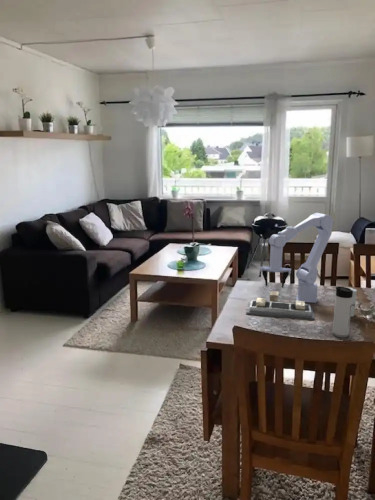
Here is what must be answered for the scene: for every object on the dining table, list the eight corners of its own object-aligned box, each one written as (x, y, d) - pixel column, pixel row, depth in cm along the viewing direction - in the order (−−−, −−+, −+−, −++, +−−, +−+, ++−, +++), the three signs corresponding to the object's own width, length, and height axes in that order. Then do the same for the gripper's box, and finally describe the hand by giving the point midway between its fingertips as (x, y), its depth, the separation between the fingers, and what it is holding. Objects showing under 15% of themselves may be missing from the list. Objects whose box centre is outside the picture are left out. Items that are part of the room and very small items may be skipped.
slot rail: (312, 309, 194) (313, 299, 193) (314, 320, 182) (315, 309, 181) (248, 304, 201) (248, 294, 200) (246, 314, 189) (246, 303, 187)
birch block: (278, 301, 206) (278, 291, 205) (277, 305, 200) (278, 295, 199) (269, 300, 207) (270, 291, 206) (269, 304, 201) (270, 294, 200)
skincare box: (340, 315, 188) (342, 290, 185) (339, 311, 192) (341, 287, 189) (354, 317, 186) (357, 291, 183) (353, 313, 190) (356, 288, 187)
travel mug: (328, 331, 170) (332, 285, 166) (344, 331, 171) (348, 284, 166) (335, 338, 164) (339, 290, 160) (351, 337, 165) (356, 289, 160)
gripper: (260, 260, 196) (259, 287, 199) (291, 262, 193) (289, 290, 196) (261, 257, 203) (259, 283, 206) (291, 258, 200) (289, 285, 203)
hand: (274, 286), depth 202 cm, fingers open, 7 cm apart
